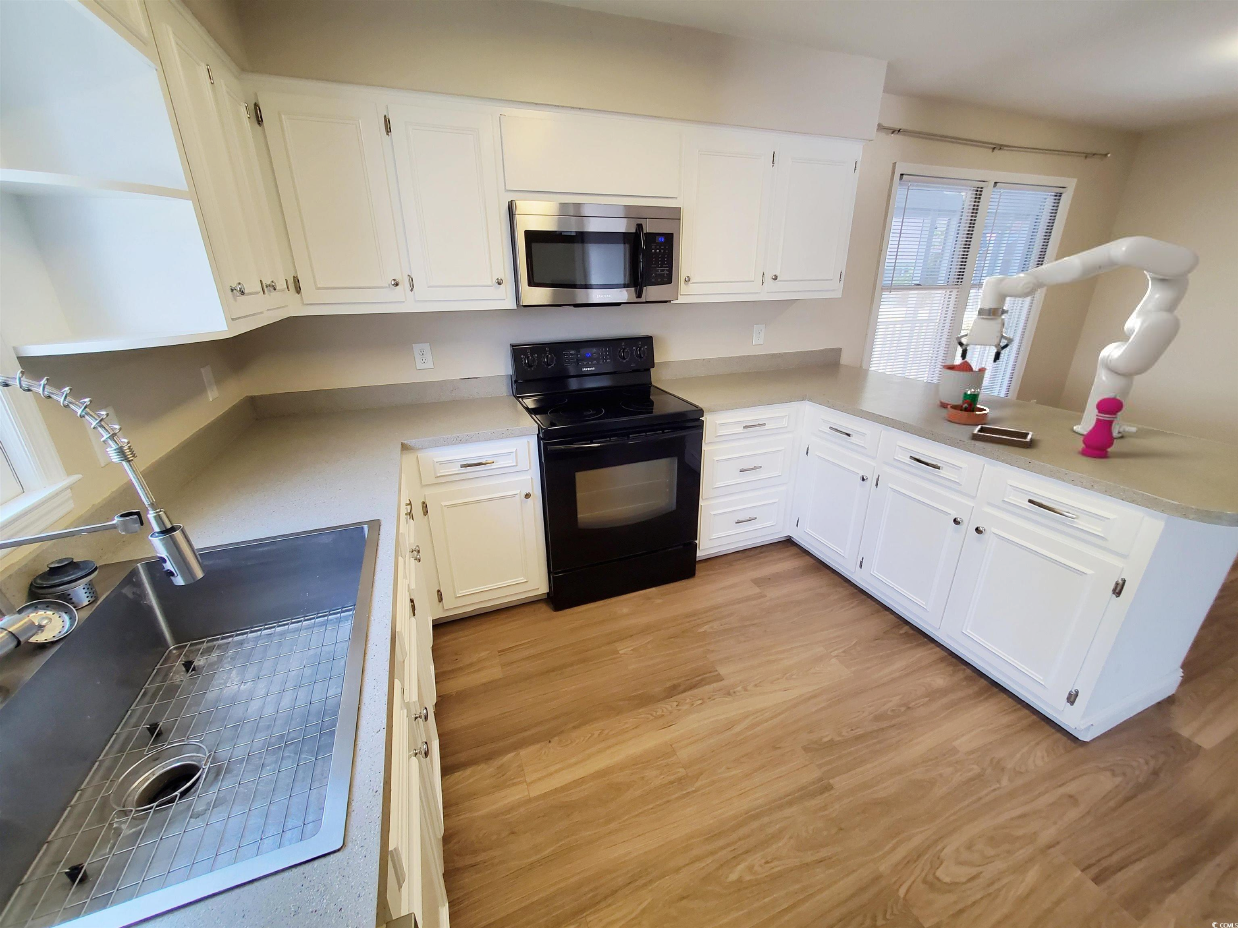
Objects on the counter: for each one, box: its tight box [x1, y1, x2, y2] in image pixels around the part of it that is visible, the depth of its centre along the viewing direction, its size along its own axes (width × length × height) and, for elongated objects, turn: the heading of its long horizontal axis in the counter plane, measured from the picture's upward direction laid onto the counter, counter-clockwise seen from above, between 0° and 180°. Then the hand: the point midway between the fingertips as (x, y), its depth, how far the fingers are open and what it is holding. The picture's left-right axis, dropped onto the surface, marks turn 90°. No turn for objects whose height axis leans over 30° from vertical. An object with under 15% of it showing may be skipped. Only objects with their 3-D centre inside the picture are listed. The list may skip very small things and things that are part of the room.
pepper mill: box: [1080, 393, 1123, 459], centre depth 153 cm, size 7×7×20 cm
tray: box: [971, 424, 1034, 449], centre depth 172 cm, size 16×12×3 cm
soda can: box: [960, 389, 981, 413], centre depth 192 cm, size 5×5×12 cm
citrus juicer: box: [938, 359, 987, 409], centre depth 210 cm, size 16×17×20 cm
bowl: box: [945, 404, 990, 426], centre depth 193 cm, size 13×13×5 cm
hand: (978, 361), depth 182 cm, fingers open, 9 cm apart
